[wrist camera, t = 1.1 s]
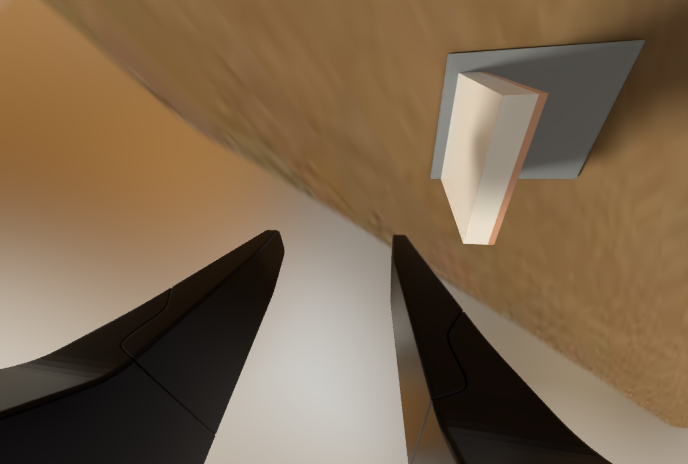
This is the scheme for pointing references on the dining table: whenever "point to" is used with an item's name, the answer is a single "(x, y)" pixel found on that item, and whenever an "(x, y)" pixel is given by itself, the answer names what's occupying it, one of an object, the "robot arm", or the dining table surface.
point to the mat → (549, 98)
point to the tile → (487, 150)
